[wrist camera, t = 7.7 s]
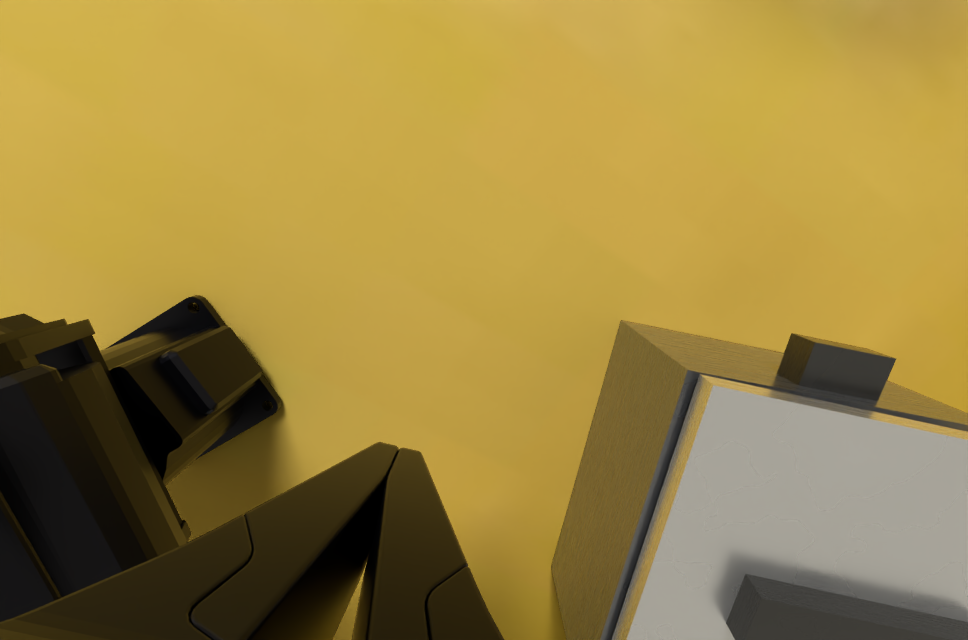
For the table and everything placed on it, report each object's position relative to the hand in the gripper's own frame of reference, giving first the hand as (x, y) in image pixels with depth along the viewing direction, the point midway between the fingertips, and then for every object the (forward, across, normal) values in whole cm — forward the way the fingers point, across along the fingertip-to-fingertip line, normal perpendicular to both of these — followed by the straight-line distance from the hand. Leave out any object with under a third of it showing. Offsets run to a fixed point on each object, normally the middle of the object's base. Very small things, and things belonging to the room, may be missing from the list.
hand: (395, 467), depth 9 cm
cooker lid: (+6, -15, +5) cm, 16 cm away
